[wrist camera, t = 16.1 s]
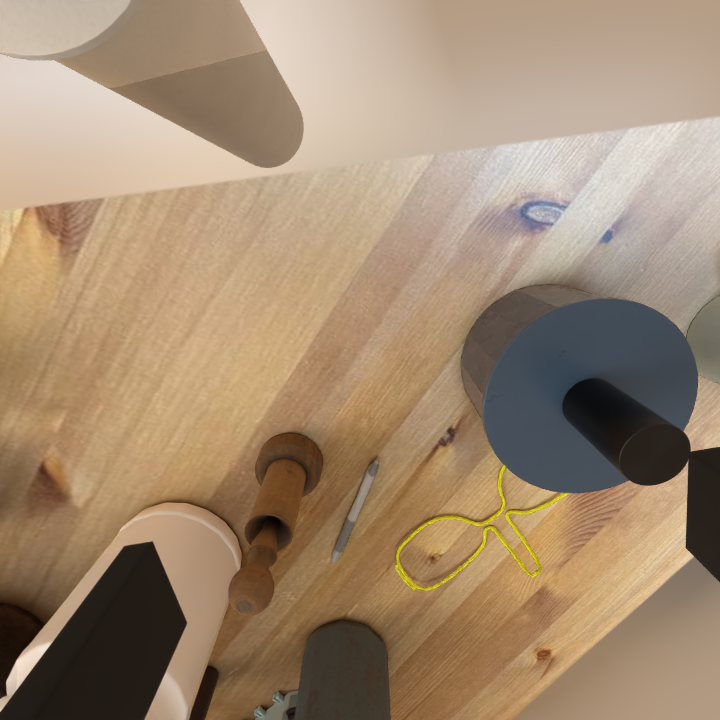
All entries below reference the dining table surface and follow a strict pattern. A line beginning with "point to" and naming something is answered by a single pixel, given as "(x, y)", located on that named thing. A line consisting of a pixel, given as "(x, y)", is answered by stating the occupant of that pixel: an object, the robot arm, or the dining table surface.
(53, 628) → the bottle
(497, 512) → the glasses
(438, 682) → the dining table surface
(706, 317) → the mug
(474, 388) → the pot
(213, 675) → the stool
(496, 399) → the lid
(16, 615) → the jug
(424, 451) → the dining table surface
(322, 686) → the bottle
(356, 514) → the pen
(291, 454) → the mortar and pestle
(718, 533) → the robot arm
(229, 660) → the dining table surface
